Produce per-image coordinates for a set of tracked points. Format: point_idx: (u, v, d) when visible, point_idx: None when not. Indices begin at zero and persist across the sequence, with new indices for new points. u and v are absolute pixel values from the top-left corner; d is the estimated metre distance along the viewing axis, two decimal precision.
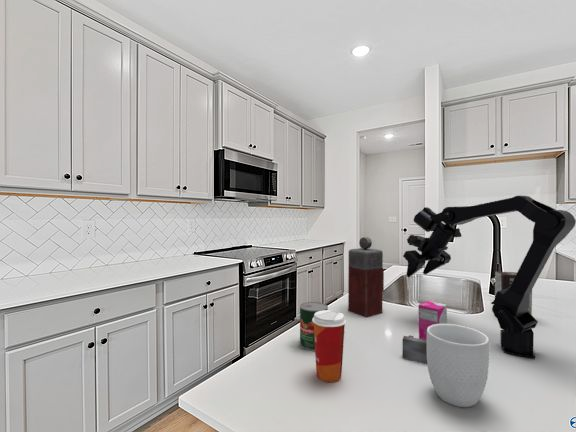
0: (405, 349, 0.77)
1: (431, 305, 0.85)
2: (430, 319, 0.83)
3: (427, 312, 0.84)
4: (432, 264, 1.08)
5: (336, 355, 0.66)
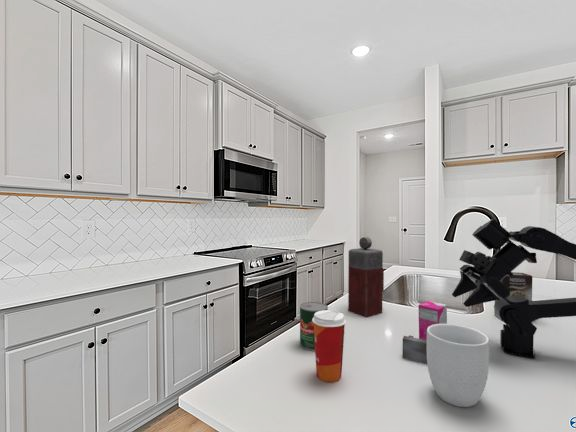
0: (405, 349, 0.77)
1: (431, 305, 0.85)
2: (430, 319, 0.83)
3: (427, 312, 0.84)
4: (467, 285, 0.88)
5: (336, 355, 0.66)
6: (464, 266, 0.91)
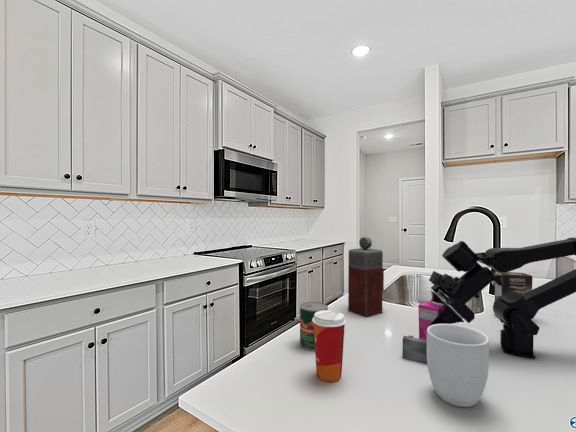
0: (405, 349, 0.77)
1: (431, 305, 0.85)
2: (430, 319, 0.83)
3: (427, 312, 0.84)
4: None
5: (336, 355, 0.66)
6: (435, 285, 0.92)
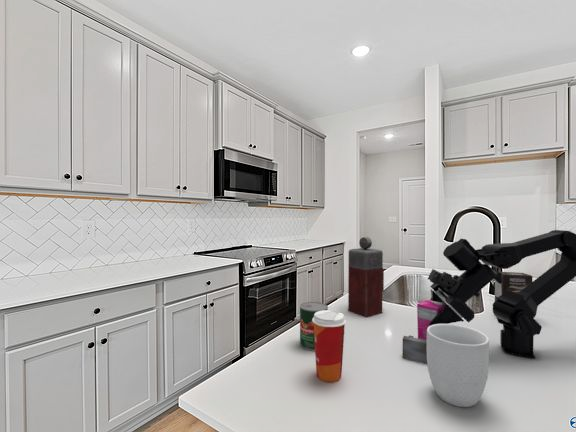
0: (405, 349, 0.77)
1: (430, 304, 0.82)
2: (429, 318, 0.81)
3: (425, 311, 0.81)
4: None
5: (336, 355, 0.66)
6: (434, 284, 0.90)
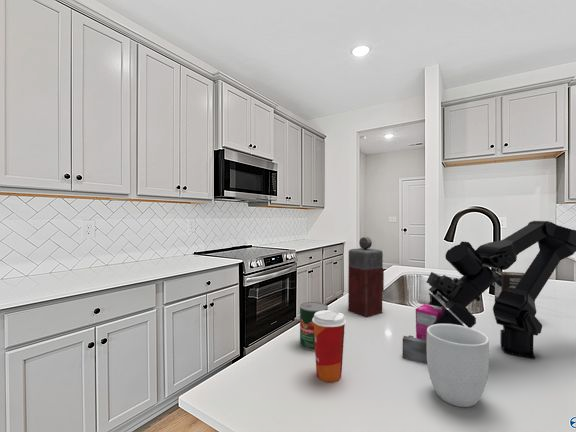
0: (405, 349, 0.77)
1: (429, 309, 0.79)
2: (428, 324, 0.77)
3: (424, 316, 0.78)
4: None
5: (336, 355, 0.66)
6: (433, 287, 0.86)
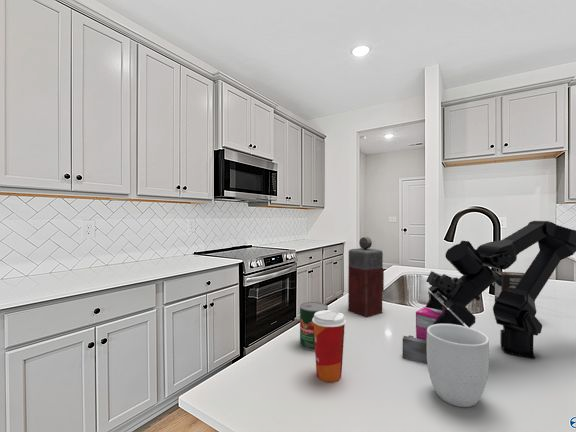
0: (405, 349, 0.77)
1: (429, 312, 0.79)
2: None
3: (425, 320, 0.78)
4: (435, 307, 0.84)
5: (336, 355, 0.66)
6: (432, 286, 0.86)
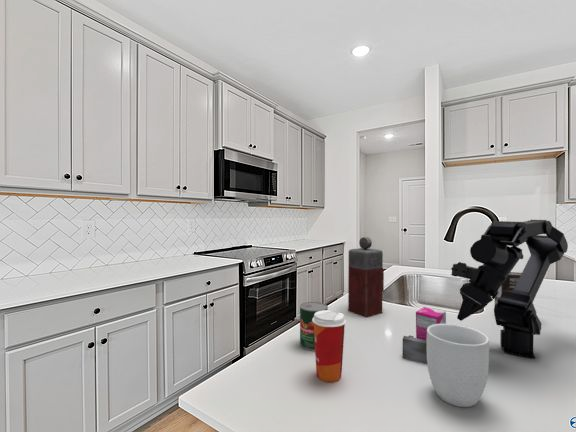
0: (405, 349, 0.77)
1: (430, 312, 0.79)
2: None
3: (425, 319, 0.78)
4: None
5: (336, 355, 0.66)
6: None
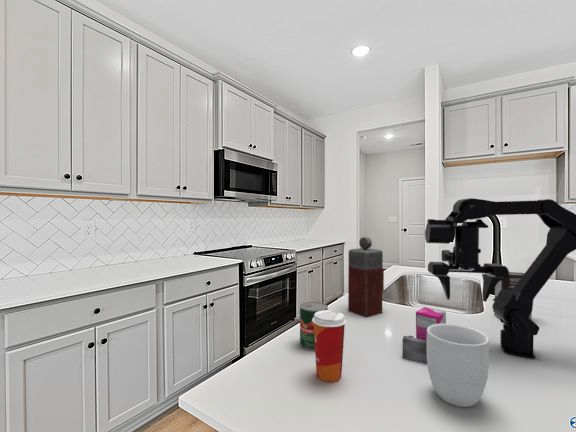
0: (405, 349, 0.77)
1: (430, 312, 0.79)
2: None
3: (425, 319, 0.78)
4: (486, 283, 0.82)
5: (336, 355, 0.66)
6: None
